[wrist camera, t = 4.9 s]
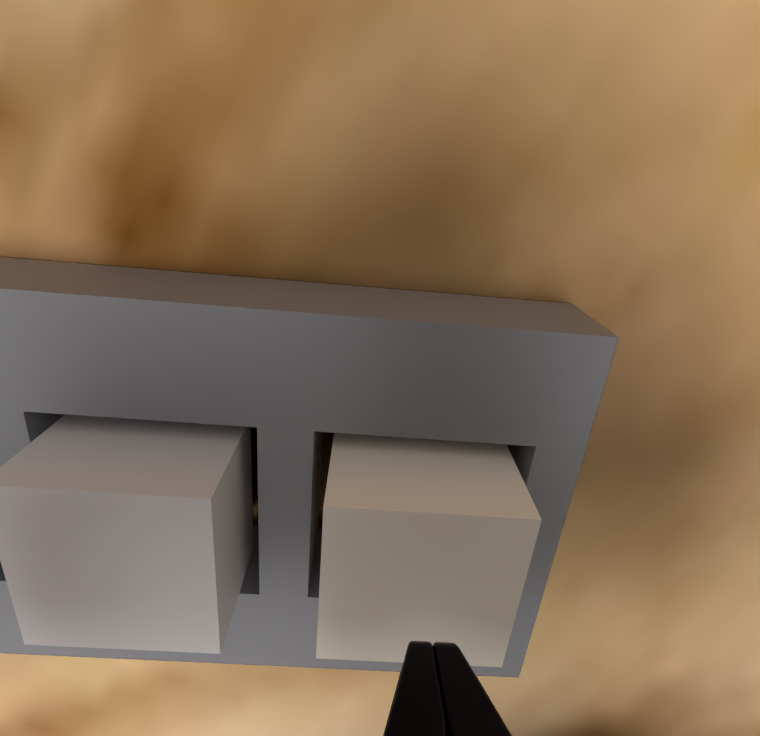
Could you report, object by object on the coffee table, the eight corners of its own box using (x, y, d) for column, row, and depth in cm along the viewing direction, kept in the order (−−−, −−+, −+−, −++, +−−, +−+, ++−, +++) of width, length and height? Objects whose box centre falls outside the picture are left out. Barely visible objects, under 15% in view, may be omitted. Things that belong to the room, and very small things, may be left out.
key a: (502, 434, 12) (541, 519, 9) (474, 561, 13) (502, 667, 10) (335, 423, 11) (323, 506, 9) (328, 553, 13) (315, 658, 10)
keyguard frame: (570, 303, 12) (618, 337, 10) (497, 601, 16) (518, 677, 13) (-534, 213, 11) (-783, 226, 8) (-319, 557, 15) (-449, 632, 12)
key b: (250, 417, 11) (210, 499, 9) (253, 549, 13) (220, 654, 10) (76, 405, 11) (-21, 485, 8) (100, 540, 13) (24, 644, 10)
